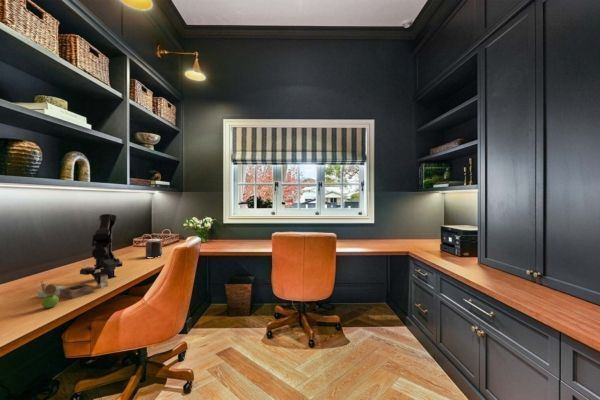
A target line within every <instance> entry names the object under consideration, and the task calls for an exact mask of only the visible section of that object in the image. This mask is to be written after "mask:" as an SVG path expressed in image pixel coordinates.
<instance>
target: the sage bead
mask: <svg viewBox="0 0 600 400" xmlns="http://www.w3.org/2000/svg"><path fill="white" fill-rule="evenodd" d="M55 286H56V288H57V289H56V291H55V292H54V293H56V294H55V295H56V296H60V290H61V289H64V288H67V287H66V285H65V286H63V285H61V286H57V285H55ZM46 296H47V295H45V294H44V293H43V291H42V289H41V290H38V291H37V298H45V297H46Z"/></svg>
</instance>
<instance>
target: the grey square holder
mask: <svg viewBox="0 0 600 400" xmlns="http://www.w3.org/2000/svg"><path fill="white" fill-rule="evenodd" d="M92 293H94V285H93V284H85V283H80V284H76V285H72V286H68V287H66V288H64V289H61V290H60V294H59V298H60V297H61V298H64V299H70V300H74V299H77V298H80V297H82V296H85V295H89V294H92Z"/></svg>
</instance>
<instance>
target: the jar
mask: <svg viewBox="0 0 600 400" xmlns="http://www.w3.org/2000/svg"><path fill="white" fill-rule="evenodd" d="M161 255H162V256H163V241H161V240H160V238H150V239H147V241H146V242H145V258H146V257H158V256H161Z"/></svg>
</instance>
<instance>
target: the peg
mask: <svg viewBox="0 0 600 400" xmlns="http://www.w3.org/2000/svg"><path fill="white" fill-rule="evenodd" d="M108 286H109V279H108V275H107V274H102V275H100V284H97V283H96V288H99V289H104V288H105V287H108Z"/></svg>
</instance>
